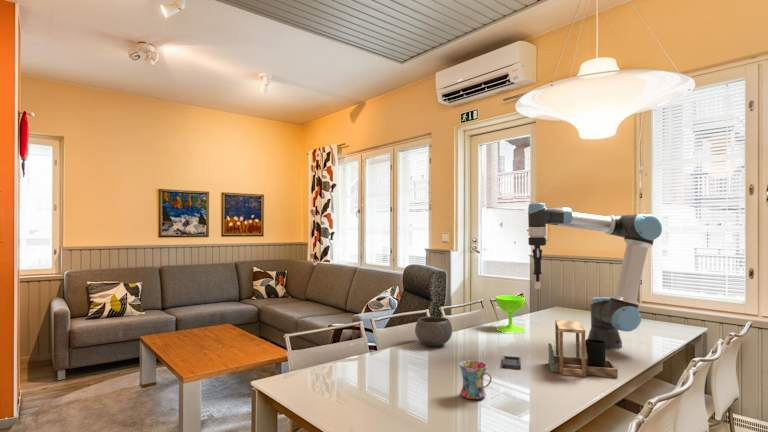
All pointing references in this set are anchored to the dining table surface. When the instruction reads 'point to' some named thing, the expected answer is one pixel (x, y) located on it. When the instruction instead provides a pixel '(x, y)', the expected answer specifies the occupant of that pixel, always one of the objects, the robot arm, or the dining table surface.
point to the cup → (596, 352)
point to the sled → (577, 364)
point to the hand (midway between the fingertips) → (537, 288)
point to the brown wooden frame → (576, 328)
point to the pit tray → (511, 362)
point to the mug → (473, 379)
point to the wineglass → (510, 311)
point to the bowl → (433, 330)
